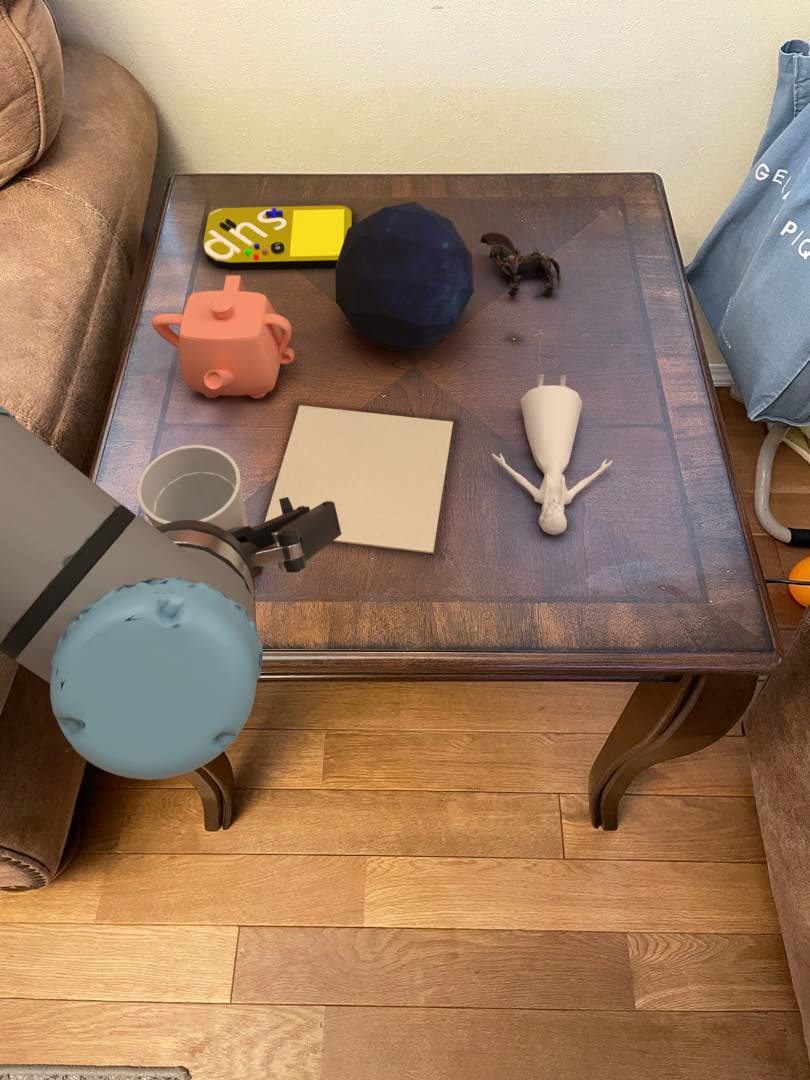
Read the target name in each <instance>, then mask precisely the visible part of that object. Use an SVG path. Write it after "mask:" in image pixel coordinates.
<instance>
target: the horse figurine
mask: <svg viewBox="0 0 810 1080" xmlns="http://www.w3.org/2000/svg"><path fill="white" fill-rule="evenodd" d="M480 237H481V238H480V240H479V244H482V243H483V244H486V245H487V246H490V248H489V250H488V251H489V252H488V258H489V259H492V261H493V263H494V264H495V265H496V267H497V268H498V269H499V270H501V272H500V275H501V276H504V277H505V279H507V280H508V281H509V282H510V285H509V286H508V291H507V292H506V295H509V296H510V297H515V296H517V295H518V294H517V291H519V282H520V279H521V278H522V277H521V275H522V276H524V275H529V274H531V273H534V274H535V277H536V278H537V279H539V280H541V281H544V284H545V285H544V288H543V291H542V292H541V294H540V296H543V295H544V296H545V297H551V296H552V295H553V292H552V291H554V290H555V287H554V285H555V284H554V279H556V281H557V283H558V284H561V281H562V277H561V275H560V274H561V270H560V268H561V267H560V265H559V263H558V262H557V261H556V260H554V258H553V257H550V255H549V254H547V253H545V252H543V251H541V252H540V250H539V249H537V247H534V249H533V253H530V254H527V255H522V251H521V249H519V248H515V247H514V246H515V245H514V243H513V242H512V240H511V239H510V238H509V237H508V236H506V234H503V233H499V231H498V232H494V231H491V232H490V231H489V232H486V233H484V234H481V236H480ZM498 259H499V262H500V264H499V265H498V263H497V262H498ZM552 266H553V268H554V271H555V272H556V273H554V274H553V273H552V272H551V269H552ZM555 277H556V278H555ZM512 340H513V341H515V340H516V338H514V337H513V338H512Z"/></svg>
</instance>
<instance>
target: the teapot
mask: <svg viewBox="0 0 810 1080" xmlns="http://www.w3.org/2000/svg"><path fill="white" fill-rule="evenodd" d="M242 279H243V278H242V275H239V274H238V275H236V274H235V275H227V274H226V276H225V281H224V285H223V290H204V291H197V292H193V293H191V294H190V295H189V297H188V298H187V302H186V304H185V306H184V307H185V308H184V310H183V314H181V313H159V314H156V315H154V316H153V317H152V319H151V327H152V328H153V329H154V330H155V332H156V333H157V334H158V335H159V337H161V338H162V339H163V340H165V341H166V342H167V343H169V344H170V345H172V346H173V347H174V348H176V349H178V359H179V365H180V371H181V375H182V378H183V381H184V382H185V384H186V385H187V386H188V387H189V388H190V389H191V390H193V391H194V392H197V393H203V394H204V396H205V397H207V398H216V397H219V396H246V395H247V396H249V397H250V398H252V399H262V398H263V397H265V396H266V394H267V393H269V392H271V391H273V390H274V388H275V387H276V383H277V381H278V375H279V372H280V367H281V364H282V365H288V364H291V363H292V362H293V361H294V359H295V352H294V350H293V349H292V348H290V347H287V346H288V344H289V342H290V341H291V337H292V333H293V331H292V325H291V323H290V321H289V320H288V319H287V318H286V317H284V316H282V315H280V314H277V313H276V312H275V309H274V307H273V306H272V304H271V302H270V300H269V299H268V296H267V295H265V294H262V293H259V292H253V291H245V287H244V283H243V280H242ZM170 326H179V333H178V334H177V333H176V332H175V331H174V330H173V329H172V328H171V327H170ZM282 330H283V331H284V334H283V332H282Z"/></svg>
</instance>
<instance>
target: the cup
mask: <svg viewBox="0 0 810 1080" xmlns="http://www.w3.org/2000/svg"><path fill="white" fill-rule="evenodd" d="M136 486H137V488H136V496H137V501H138V504H139V506H140V507H141V509H142V511H143V513H144V514H145V515H146V517H147V519H148V520H149V522H150V524H151V525H152V526H154V527H155V528H157V527H159V526H161V525H164V524H166V523H170V522H174V521H179V520H197V521H203V522H207V523H211V524H213V525H216V526H218V527H220V528H222V529H224V530H225V531H226V530H229V529H231V528H235V527H245V526H249V525H248V520H247V519H248V518H247V514H246V507H245V502H244V494H243V486H242V480H241V473H240V470H239V467H238V465H237V463H236V462H235V460H234V459H233V457H232V456H230V455H229V454H228V453H226V452H225V451H223V450H221V449H219V448H216V447H213V446H209V445H204V444H189V445H182V446H180V447H175V448H172V449H170V450H167V451H166V452H164V453H162V454H160V455H158V457H155V458H154V459H153V460H152V461H151V462H150V463H149V464H148V465H147V466H146V467H145V469H144V470H143V472H142V473H141V475H140V477H139V479H138V482H137V485H136Z"/></svg>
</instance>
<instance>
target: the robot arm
mask: <svg viewBox="0 0 810 1080" xmlns="http://www.w3.org/2000/svg"><path fill="white" fill-rule="evenodd" d="M279 501H280V505H281V509H282V514H283V515H281V516H278V517H276V518H274V519H271V520H269V521H267V522H265V521H264V522H262V523H259V524H257V525H255V526H253V527H252V526H250V525H248V526H245V527H235V528H231V529H229V530H226V531H225V530H224V529H222V528H220V527H218V526H216V525H213V524H211V523H207V522H203V521H197V520H179V521H174V522H170V523H166V524H164V525H161V526H159V527H157V528H155V527H154V526H153V525H152V523H151V522H149V521H147V520H146V519H145V518H143V517H142V516H141V515H139V514H136V513H134V512H133V511H131V510H130V509H129V508H128V507H126V506H125V505H124V504H122V503H120V502H119V501H118V500H116V498H114V497H113V496H112V495H111V494H110V493H108V492H106V491H105V490H104V489H103V488H101V487H100V486H99V485H98V484H97V483H95V482H94V480H93V481H92V479H90V478H89V477H88V476H87V475H85V474H84V473H83V472H81V470H80V469H78V468H77V467H75V466H74V465H73V464H71V463H70V462H69V461H68V460H67V459H65V458H64V457H63V456H61V455H60V454H59V453H58V452H57V451H56V450H54V449H53V448H52V447H50V446H49V445H48V444H47V443H45V442H44V441H43V440H42V439H40V438H39V437H38V436H37V435H35V434H34V433H33V432H32V431H31V430H29V429H28V428H27V427H26V426H24V425H23V424H22V423H21V422H20V421H18V420H17V419H16V416H15V415H14V414H12V413H11V412H10V411H9V410H8V409H5V408H4V407H3V406H1V405H0V652H1V653H2V654H4V655H5V656H7V657H8V658H10V659H11V660H13V661H14V660H15V661H16V662H17V663H18V664H19V665H21V666H23V667H24V668H26V669H27V670H29V671H31V672H32V673H34V674H35V675H36V676H38V677H39V678H41V679H42V680H44V681H46V682H47V683H48V684H49V695H50V703H51V709H52V713H53V715H54V717H55V719H56V721H57V723H58V725H59V728H60V730H61V732H62V733H63V735H64V737H65V739H66V740H67V741H68V743H69V744H70V745H71V746H72V748H73V749H74V751H76V752H77V753H78V754H79V755H80V757H82V758H83V759H84V760H86V761H87V762H89V763H90V764H92V765H93V766H95V767H97V768H99V769H101V770H103V771H104V772H107V773H110V774H114V775H116V776H120V777H123V778H129V779H137V780H144V781H145V780H146V781H147V780H148V781H151V780H153V781H154V780H166V779H170V778H175V777H179V776H182V775H185V774H188V773H190V772H193V771H195V770H197V769H199V768H202V767H203V766H205V765H206V764H208V763H211V762H212V761H213V760H215V759H216V758H218V756H220V755H221V754H222V753H223V752H224V751H225V750H226V749H228V747H230V746H231V745H232V744H233V743H234V742H235V741H236V740H237V738H238V736H239V735H240V734H241V731H242V730H243V729H244V727H245V725H246V723H247V721H248V719H249V717H250V715H251V712H252V710H253V706H254V703H255V698H256V695H257V693H256V692H257V683H258V680H259V679H260V678H261V672H262V665H263V657H264V651H263V644H262V643H263V642H261V641H260V640H259V639H260V636H261V635H260V632H259V631H258V627H257V612H256V611H257V610H256V584H255V583H256V582H255V579H256V578H258V577H260V576H261V575H262V574H263V570H264V567H265V566H268V565H269V566H270V565H273V564H278V568H279V570H285V571H286V573H290V574H291V573H293V574H295V573H299V572H301V570H303V569H305V568H306V566H307V561H308V560H310V559H311V558H313V557H314V556H315V555H316V554H317V553H319V552H320V551H322V550H323V549H324V548H326V547H328V546H329V545H330V544H331V543H332V541H333V540H335V539H336V538H337V537H339V536H340V535H341V529H340V525H339V521H338V516H337V512H336V508H335V503H334V502H332V501H325V502H323V503H322V504H320V505H318V506H316V507H315V508H313V509H311V510H310V508H309V507H304V506H300V507H298V508H297V509H294V510H293V507H292V505H291V502H290V500H289V498H288V497H286V498H281V499H279Z"/></svg>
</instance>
